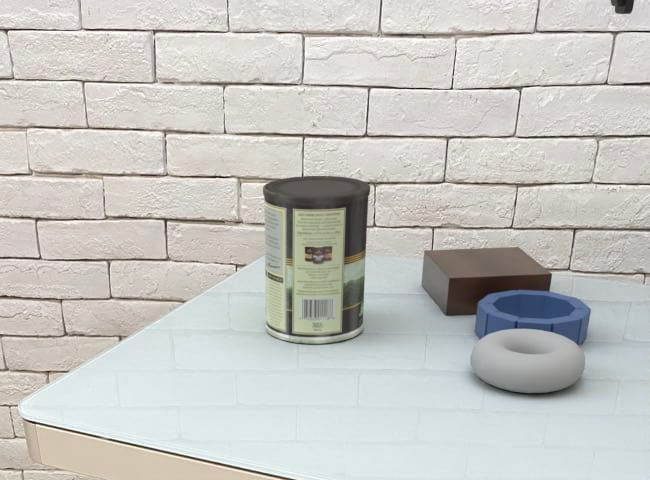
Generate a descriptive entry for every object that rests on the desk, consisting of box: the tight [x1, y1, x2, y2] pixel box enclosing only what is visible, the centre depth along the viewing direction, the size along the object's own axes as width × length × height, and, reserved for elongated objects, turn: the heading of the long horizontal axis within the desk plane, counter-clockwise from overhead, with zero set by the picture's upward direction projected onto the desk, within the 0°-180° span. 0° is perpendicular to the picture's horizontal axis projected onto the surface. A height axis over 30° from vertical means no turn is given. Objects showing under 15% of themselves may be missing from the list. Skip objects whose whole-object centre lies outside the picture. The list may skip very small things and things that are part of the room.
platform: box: [421, 246, 553, 316], centre depth 106 cm, size 11×11×4 cm
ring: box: [474, 290, 592, 347], centre depth 96 cm, size 10×11×3 cm
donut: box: [469, 329, 586, 394], centre depth 86 cm, size 10×4×10 cm
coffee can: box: [262, 175, 371, 345], centre depth 96 cm, size 10×10×14 cm
